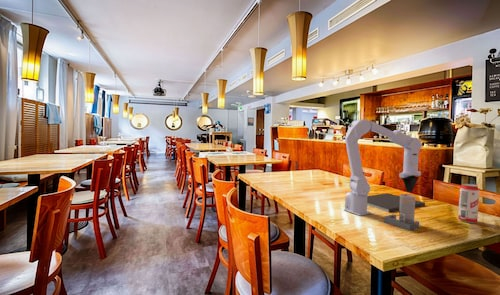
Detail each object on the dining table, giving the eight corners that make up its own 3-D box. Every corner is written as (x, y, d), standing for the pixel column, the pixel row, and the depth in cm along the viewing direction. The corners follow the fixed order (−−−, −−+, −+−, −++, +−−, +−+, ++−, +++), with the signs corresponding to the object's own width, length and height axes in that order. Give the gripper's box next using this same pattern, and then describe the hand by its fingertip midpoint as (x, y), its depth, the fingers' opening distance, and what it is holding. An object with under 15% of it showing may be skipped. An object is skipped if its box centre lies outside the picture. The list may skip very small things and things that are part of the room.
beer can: (454, 219, 108) (456, 183, 107) (463, 218, 110) (465, 182, 109) (471, 224, 102) (474, 186, 101) (480, 222, 104) (483, 185, 103)
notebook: (388, 213, 117) (425, 206, 129) (388, 208, 117) (425, 202, 129) (353, 201, 137) (387, 196, 148) (353, 197, 137) (387, 193, 148)
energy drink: (410, 222, 105) (411, 194, 104) (416, 226, 99) (417, 197, 99) (396, 221, 106) (397, 193, 105) (401, 225, 100) (403, 196, 100)
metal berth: (384, 222, 104) (384, 216, 104) (393, 219, 107) (393, 214, 107) (409, 231, 95) (410, 224, 95) (419, 227, 98) (419, 221, 98)
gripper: (411, 165, 108) (409, 195, 108) (428, 163, 115) (426, 191, 115) (395, 163, 114) (393, 191, 115) (412, 161, 121) (411, 188, 122)
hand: (409, 191), depth 115 cm, fingers closed
